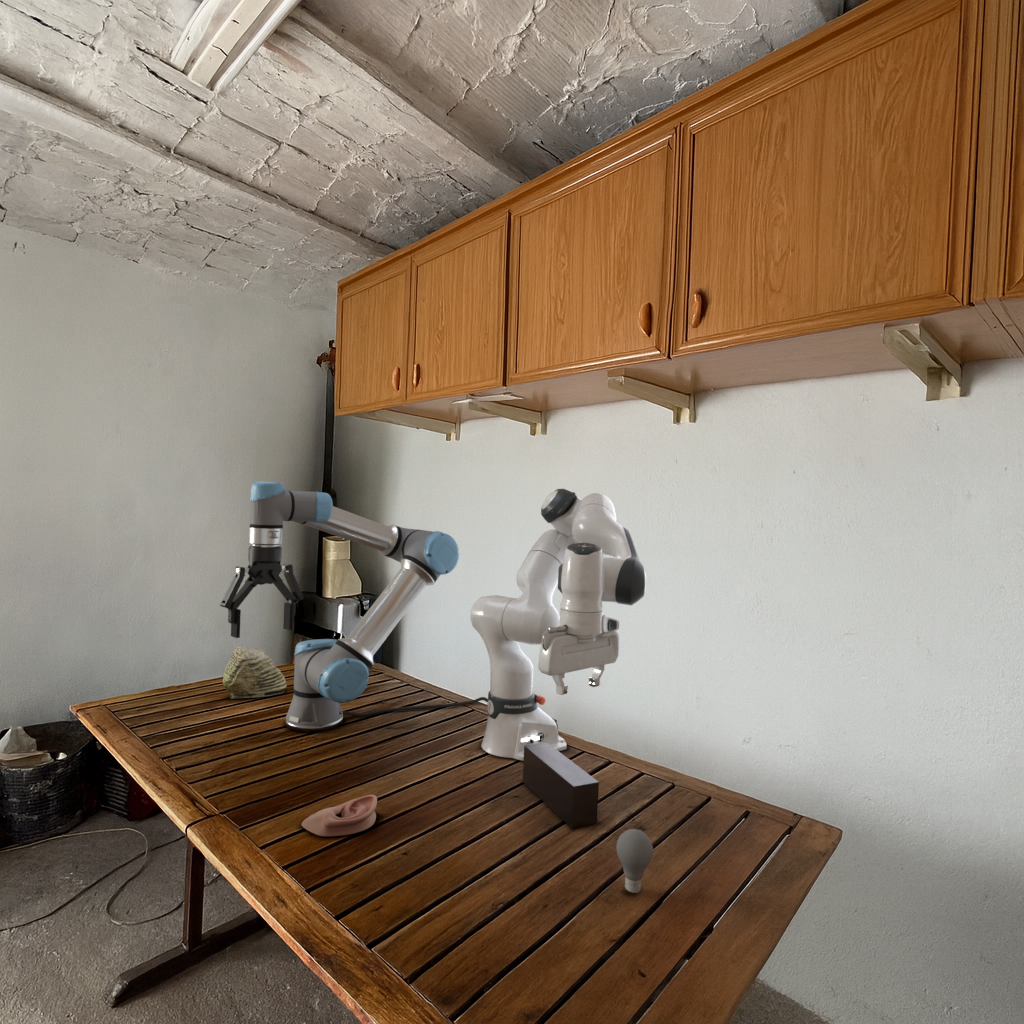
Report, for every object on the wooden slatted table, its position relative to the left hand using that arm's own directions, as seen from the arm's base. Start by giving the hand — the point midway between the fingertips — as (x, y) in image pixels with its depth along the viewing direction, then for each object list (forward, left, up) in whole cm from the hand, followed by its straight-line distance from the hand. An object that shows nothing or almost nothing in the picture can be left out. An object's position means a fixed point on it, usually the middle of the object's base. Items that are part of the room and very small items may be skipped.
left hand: (262, 633), depth 153 cm
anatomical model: (+6, +41, -30) cm, 51 cm away
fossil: (-23, -42, -30) cm, 57 cm away
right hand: (-28, +73, -4) cm, 78 cm away
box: (-31, +67, -30) cm, 79 cm away
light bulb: (-14, +94, -30) cm, 100 cm away
